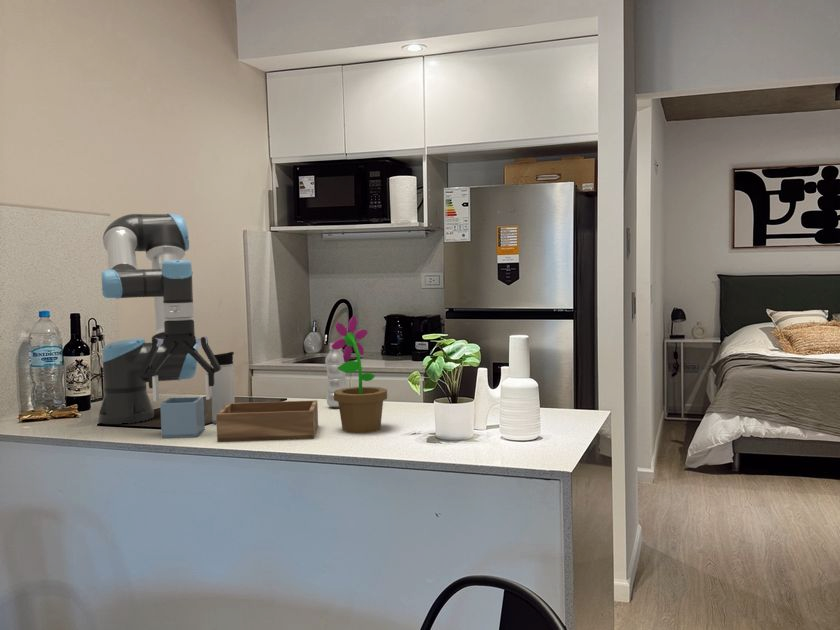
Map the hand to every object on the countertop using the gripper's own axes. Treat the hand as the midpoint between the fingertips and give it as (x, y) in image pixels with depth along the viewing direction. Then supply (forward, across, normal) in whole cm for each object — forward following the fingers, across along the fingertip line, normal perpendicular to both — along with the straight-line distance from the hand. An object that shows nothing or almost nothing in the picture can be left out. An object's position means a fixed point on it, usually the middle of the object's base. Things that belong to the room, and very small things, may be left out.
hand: (182, 399), depth 203 cm
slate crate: (+9, 0, +1) cm, 9 cm away
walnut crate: (+9, +23, -2) cm, 25 cm away
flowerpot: (+10, +47, 0) cm, 48 cm away
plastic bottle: (+9, +39, +33) cm, 51 cm away
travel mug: (+9, +8, +15) cm, 19 cm away
